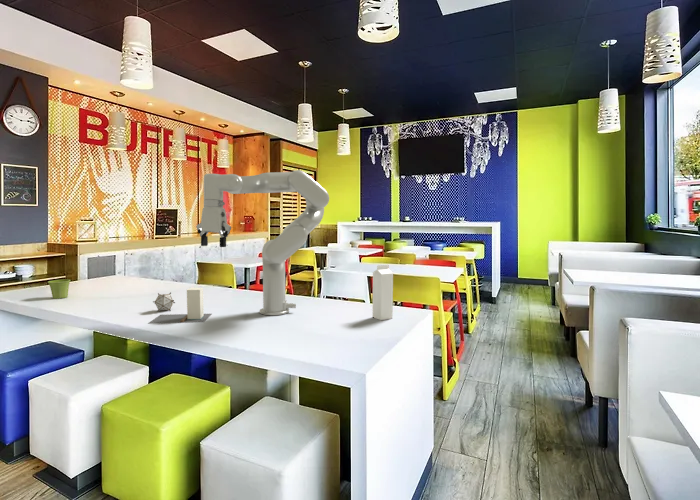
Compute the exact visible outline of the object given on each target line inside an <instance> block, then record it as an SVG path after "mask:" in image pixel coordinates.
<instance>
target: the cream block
mask: <svg viewBox="0 0 700 500" xmlns="http://www.w3.org/2000/svg"><path fill="white" fill-rule="evenodd" d="M186 307H187V308H186V309H187V310H186V314H187V319H188V320H195V319H201V318H202V317H203V316H204V314H205V313H204V287H189V288H188V289H186Z"/></svg>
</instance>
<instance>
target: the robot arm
mask: <svg viewBox="0 0 700 500" xmlns="http://www.w3.org/2000/svg"><path fill="white" fill-rule="evenodd" d="M224 192H227V193H229V194H231V195H234V194H235V195H237V194H238V195H239V194H240V195H241V194H273V193H293V192H295V193H296V192H297V193H298V194H299V195H300V196H301V197H303V199H305V204H306V205H305V209H304V211H303V212H302V213H301V214H300V215H299V216H297V217H296V218H295V219H294V220H293V221H292V222H291V223H290V224H287V225H286V226H285V227H284V229H283V230H282V232H281V233H280V234H279V235H278V236H277V237H275V238H274V239H269V240H267V241H266V242H265V243H264V245H263V246H262V249H261V259H262V301H263V302H262V303H263V305H262V308H260V309H259V313H260V314H261V315H264V316H282V315H286V314H289V312H290V309H296V307H297V304H296V303H292V302H291V303H289V302H287V300H286V262H285V261H286V260H288V259H289V258H291V256H293V255H294V254H295V253H296V252H297V251H298V250H300V249H301V248H302V247H303V246H304V245H305V243H306V242H307V240H308V235H309V234H310V233H311V232H312V231H313V230H315V228H316V227H318V225H319V224H320V223H321V221H323V217H324V213H325V208H326V207H327V205H329V202H330V195H329V192H328V191H327V190H326V189H325V188H324V187H322V185H321V184H320V183H318V182H317V181H315V180H314V179H313V178H312V177H311V176H310V175H309V174H307V173H306V172H305V171H303V170H300V169H298V170H297V169H296V170H293V171H281V172H280V171H279V172H278V171H276V172H275V171H274V172H262V173H259V174H255V175H244V176H243V175H242V176H241V175H238V174H235V173H229V174H228V173H227V174H220V173H219V174H218V173H206V174H204V175H203V207H202V212H201V218H200V220H201V221H200V222H199V223H198V224H196V226H195V227H196V230H197V233H198V234H199V237H200V246H201V247H207V246H208V245H209V243H208V240H209V239H208V234H209V233H218V234H219V236H220V237H219V247H220V248H226V247H227V238H228V236H229V235H230V234H231V233H230V232H231V230H232V226H231V225H230V224H228V218H227V213H226V208H224V206H225V204H226V203H225V201H224Z"/></svg>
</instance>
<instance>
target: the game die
mask: <svg viewBox="0 0 700 500" xmlns="http://www.w3.org/2000/svg"><path fill="white" fill-rule="evenodd" d="M171 294H172V292H169V293H161V294H160V293H159V292H158V293H157V296H156V299H155V300H153V301H152V303H154V305H155V306H156V308H157V312H158V313H159V312H160V311H169V312H171V308H172V306H173V305H174V304H176V302H175V300H174V299H173V298H172V295H171Z"/></svg>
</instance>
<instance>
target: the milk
mask: <svg viewBox="0 0 700 500" xmlns="http://www.w3.org/2000/svg"><path fill="white" fill-rule="evenodd" d="M389 267H390V266H389V264H380V265H379V264H378V265H377V266H376V269H375V270H374V271H373V272H372V318H373V317H374V318H373V319H376V320H378V321H384V320H391V319H393V314H394V313H393V309H394V307H393V306H394V305H393V304H394V303H393V301H394V300H393V299H394V297H393V296H394V295H393V294H394V273H393V271H392V270H391V269H390V268H389Z"/></svg>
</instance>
